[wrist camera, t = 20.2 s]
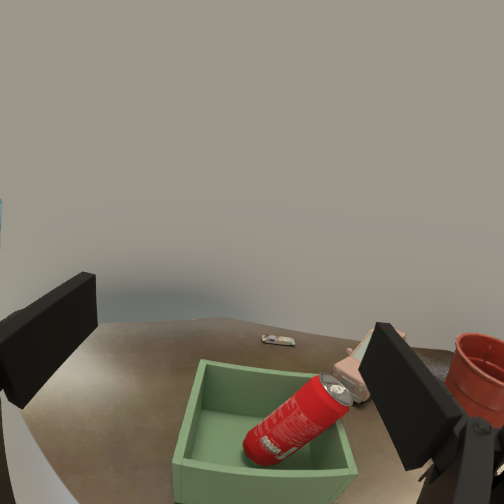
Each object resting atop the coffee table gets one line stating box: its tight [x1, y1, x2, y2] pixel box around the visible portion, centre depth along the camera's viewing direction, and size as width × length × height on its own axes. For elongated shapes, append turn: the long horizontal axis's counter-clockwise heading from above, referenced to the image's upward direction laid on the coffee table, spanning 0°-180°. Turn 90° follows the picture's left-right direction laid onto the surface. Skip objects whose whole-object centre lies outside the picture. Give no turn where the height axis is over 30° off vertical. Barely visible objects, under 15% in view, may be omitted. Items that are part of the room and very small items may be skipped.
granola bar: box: [262, 335, 295, 345], centre depth 56 cm, size 7×2×1 cm, turn 90°
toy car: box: [332, 328, 406, 403], centre depth 44 cm, size 9×15×10 cm, turn 128°
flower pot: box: [444, 333, 504, 428], centre depth 26 cm, size 16×16×16 cm
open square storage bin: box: [172, 359, 358, 504], centre depth 26 cm, size 16×16×9 cm
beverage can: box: [242, 372, 353, 466], centre depth 25 cm, size 5×5×12 cm
